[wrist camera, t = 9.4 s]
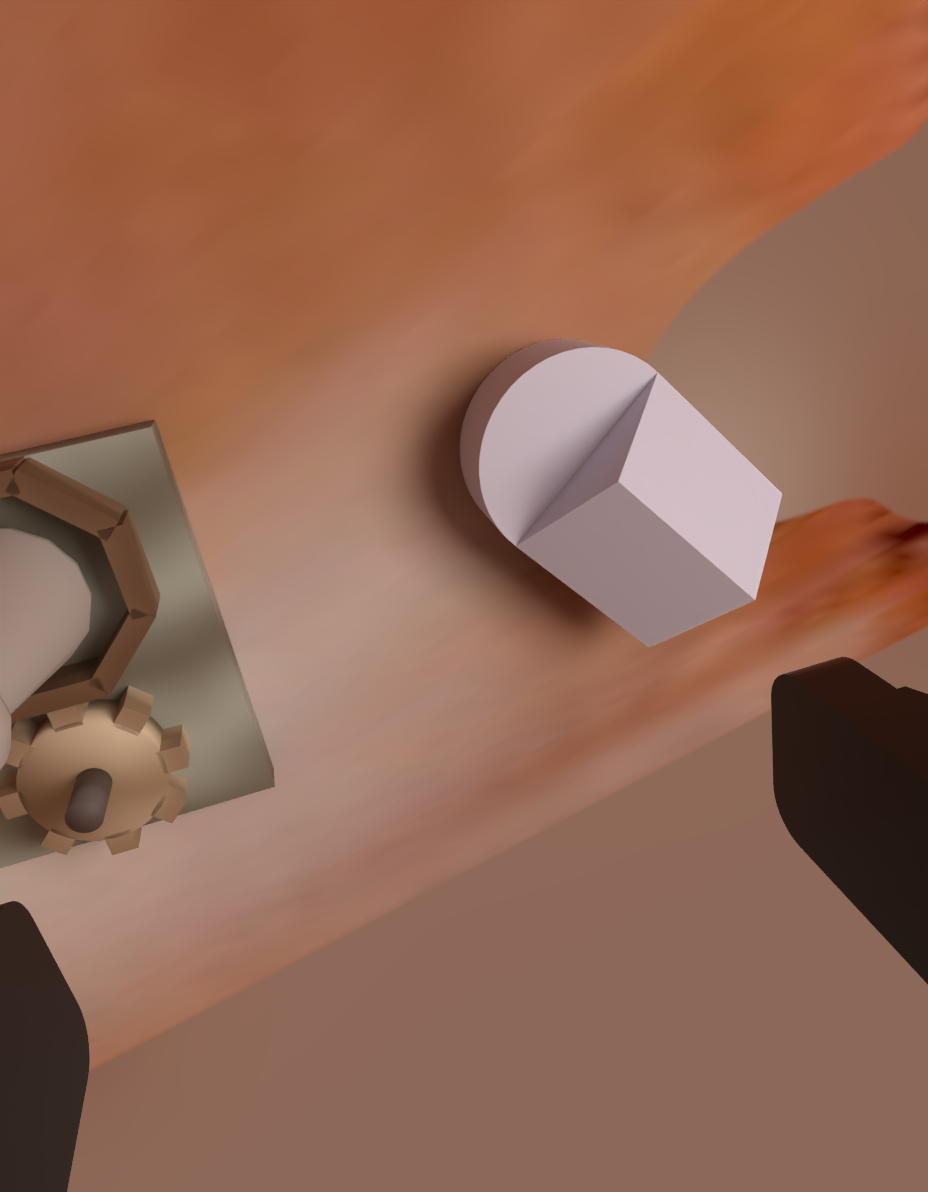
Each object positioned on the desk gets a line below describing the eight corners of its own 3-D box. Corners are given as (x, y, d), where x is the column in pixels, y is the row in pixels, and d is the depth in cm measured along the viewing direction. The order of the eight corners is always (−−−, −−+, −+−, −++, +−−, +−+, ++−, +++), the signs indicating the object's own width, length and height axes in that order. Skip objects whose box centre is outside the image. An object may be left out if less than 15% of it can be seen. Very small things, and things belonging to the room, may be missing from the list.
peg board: (-200, 500, 31) (-285, 550, 26) (154, 419, 33) (138, 451, 28) (-10, 851, 38) (-48, 944, 33) (273, 768, 40) (277, 844, 35)
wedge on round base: (741, 475, 40) (551, 293, 35) (829, 515, 34) (616, 302, 29) (619, 618, 42) (418, 464, 36) (683, 681, 36) (453, 507, 30)
